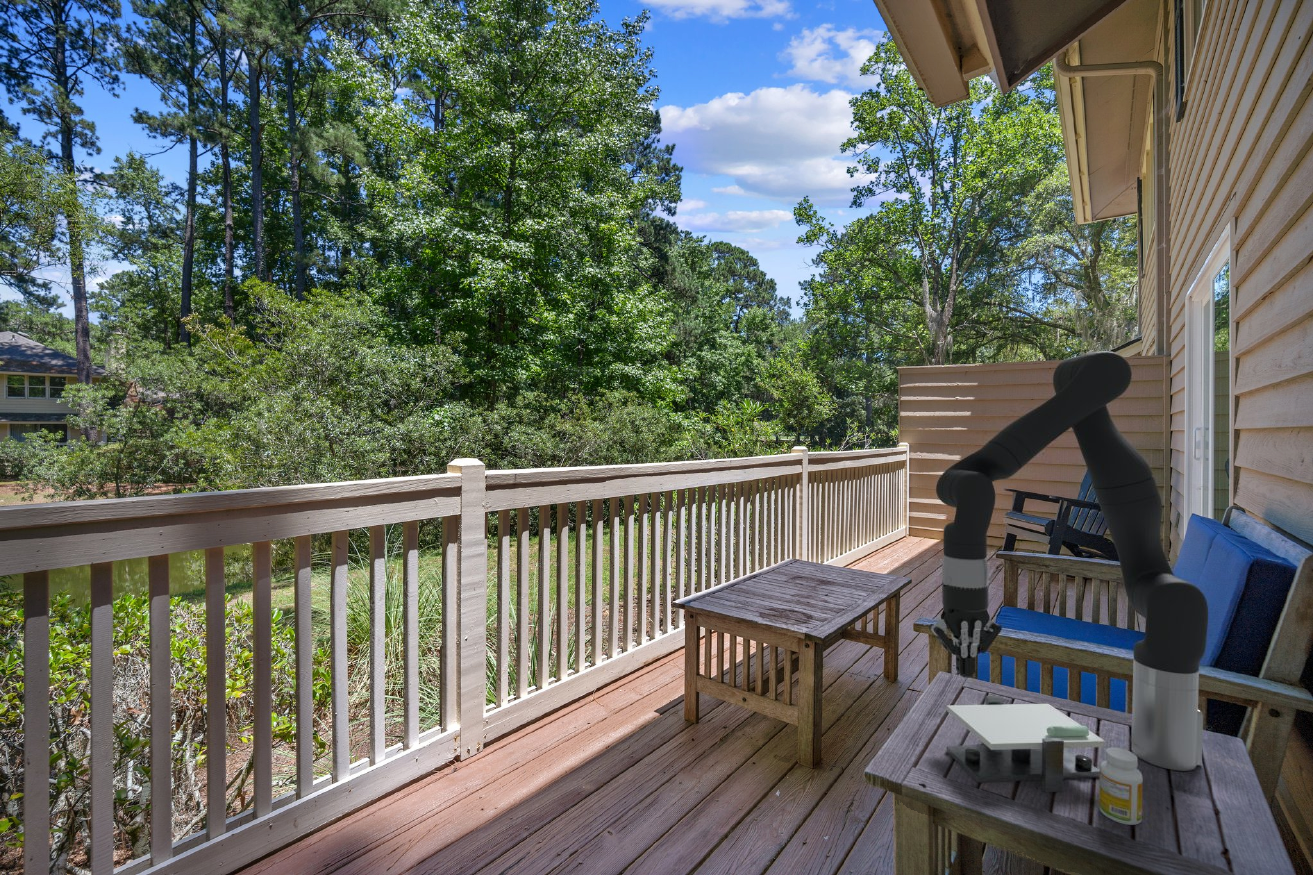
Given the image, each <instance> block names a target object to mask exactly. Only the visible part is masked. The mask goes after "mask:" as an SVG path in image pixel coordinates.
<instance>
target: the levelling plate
mask: <svg viewBox="0 0 1313 875" xmlns="http://www.w3.org/2000/svg"><path fill="white" fill-rule="evenodd" d="M946 712H947V713H949V714H950V715H951V716H952V717H953V718H954V719H955V720H957V721H958V722H959V723H960V725H962V726H963V727H965V728H966V729H967V730H968V731H969V732H970V733H971V734H972V735H974V737H976V738H977V739H978V740H979V741H980V742H982V743H983V745H986V746H988V747H989V748H990V749H991V750H1001V749H1042V738H1061V739H1062V740H1063V741H1064V748H1069V749H1072V748H1073V749H1078V748H1081V749H1082V748H1083V749H1084V748H1106V740H1104V739H1103V738H1102V737H1100V736H1098V735H1097V734H1095V733H1094V732H1092V731H1091V730H1090V729H1089V728H1088V727H1087V726H1086V725H1081V724H1080V723H1078V722H1077V721H1075V719H1074V720H1073V719H1072V718H1071V717H1069V716H1068V715H1066V714H1065V713H1063V712H1062V711H1060V710H1058V709H1056V707H1053V706H1052V705H1050V704H1049V703H1017V704H1016V703H1015V704H1014V703H1013V704H1012V703H1011V704H1009V703H1008V704H1007V703H1006V704H1005V703H1004V705H985V704H966V705H965V704H961V705H960V704H959V705H958V704H957V705H956V704H955V705H946Z"/></svg>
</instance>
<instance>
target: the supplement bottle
mask: <svg viewBox="0 0 1313 875" xmlns="http://www.w3.org/2000/svg"><path fill="white" fill-rule="evenodd" d="M1104 758H1105V760H1103V761H1102V762H1100V765H1099V770H1100V777H1099V790H1098V791H1099V795H1098V800H1099V801H1098V807H1099V811H1100V812H1101V813H1102V814H1103V816H1105V817H1107V818H1108V819H1110V820H1112V821H1114V822H1117V823H1119V824H1122V825H1127V826H1128V825H1129V826H1133V825H1134V826H1135V825H1138V824H1140V823H1141V822H1142V820H1143V785H1144V784H1143V781H1144V780H1143V774H1142V773H1141V771H1140V770H1139V769H1138V765H1139V764H1138V756H1136V755H1135V754H1134V753H1133V752H1132V751H1129V750H1128V749H1124V748H1119V747H1114V746H1113V747H1107V748H1106V749H1105V756H1104Z"/></svg>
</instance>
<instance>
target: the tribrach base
mask: <svg viewBox="0 0 1313 875" xmlns="http://www.w3.org/2000/svg"><path fill="white" fill-rule="evenodd" d="M984 701H985V702H984V703H985V704H984V705H1004V704H1005V702H1004V701H1005V698H1004V697H1003V696H1002V695H985V699H984ZM946 753H948V755H949V756H950V757H952V759H953V760H955V761H956V762H957V764H958V765H959V766H961V767H962V768H963V769H964V771H966V772H967V774H969V776H971V778H972V779H973V780H975V781H976V783H995V782H996V783H998V782H1019V781H1038V780H1039V781H1041V786H1040V787H1041V790H1042V791H1043V792H1044V793H1057V792H1059V793H1060V792H1064V780H1065V779H1066V780H1067V779H1068V780H1069V779H1088V778H1100V769H1099V768H1097V767H1096V766H1094V765H1093V759H1092V758H1090V757H1089V756H1086V755H1083V754H1078V753H1077V752H1075V751H1074V750H1072V748H1064V741H1063V740H1062V739H1061V738H1042V749H1001V750H991V749H990V748H989V747H988V746H986V745H985V744H968V745H965V744H964V745H947V746H946Z"/></svg>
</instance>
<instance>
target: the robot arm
mask: <svg viewBox="0 0 1313 875" xmlns="http://www.w3.org/2000/svg"><path fill="white" fill-rule="evenodd" d="M1132 374H1133V372H1132V369H1131V366H1130V364H1129V362H1128V360H1127V359H1126V358H1125V357H1124V356H1122V355H1121V354H1120V353H1116V352H1114V351H1107V350H1105V351H1104V350H1103V351H1102V350H1101V351H1095V352H1089V353H1086V354H1082V355H1078V356H1074V357H1073V356H1072V357H1070V358H1067V359H1064V360H1063V361H1061V362H1060V363H1059V364H1058V365H1057V366H1056V368H1055V369H1054V373H1053V375H1052V384H1053V389H1054V393H1055V394H1054V395H1053V396H1052V397H1051V398H1050V399H1048V400H1047V401H1045V402H1043V403H1042V404H1040V405H1039V406H1037V407H1036V408H1033V409H1032V410H1030V411H1029V412H1027V413H1025V414H1023V415H1021V417H1018V418H1017V419H1015V420H1014V421H1012V422H1011V423H1010V424H1008V425H1006V427H1004V428H1003V429H1002V430H1001V431H999V432H998V433H997V434H996V435H995V436H993V437H992V438H991V439H990V440H989V441H987V443H985V445H984V446H982V447H981V448H980V449H978V450H977V451H975V452H972V453H971V454H968V455H966V456H965V457H964V458H963V459H961V460H960V461H959V460H958V462H956V463H954V464H953V465H951V466H950V467H948V468H947V469H946V470H945V471H944V472H943V473H942V474H941V475H940V477H939V478H938V480H937V482H936V486H935V492H936V495H937V497H938V500H940V502H941V503H943V504H944V505H946V506H949V507H951V508H955V515H954V520H953V522H949V523H947V524H946V525H945V526H944V529H943V558H942V567H941V570H942V571H941V577H942V579H941V583H942V584H941V585H942V586H941V589H942V591H941V592H942V593H941V595H942V596H941V599H942V600H941V602H942V607H943V608H942V612H941V613H940V620H939V621H938V622H936V623H930V624H929V626H928V628H929V630H930V632H932V634H933V636H935V638H936V639H937V640H938V642H939V643H940V645H942V647H943V648H944V649H945V651H948V652H950V653H951V654H952V655H954V656H955V670H956V672H957V673H958V675H959V676H961V677H962V678H963V679H965V678H973V677H974V674H975V673H976V657H977V655H979V654H985V653H986V652H987V651H988V650H989V648H991V647H990V646H992V644H993V642H994V641H995V640H996V639H997V637H998V635H1000V633H1001V632H1002V630H1003V627H1002V625H1000V624H998V623H996V622H994V621H992V620H991V619H990V618H991V616H990V614H989V612H988V609H989V606H990V605H989V602H990V601H989V600H990V598H989V589H990V588H989V579H990V578H989V566H988V558H987V557H988V551H987V550H988V549H987V548H988V546H987V545H988V544H987V542H988V541H987V540H988V539H987V535H988V532H989V531H988V530H989V527H990V526H991V522H992V521H991V520H992V517H993V514H994V513H993V512H994V510H995V504H996V490H995V486H994V483H993V482H996V481H1000V480H1005V479H1006V480H1007V479H1009V478H1011V477H1012V476H1014V475H1015V474H1016V473H1018V472H1019V471H1020V470H1021V469H1022V468H1023V467H1024V466H1026V465H1027V464H1028V463H1029V462H1030V461H1032V460H1033V459H1034V458H1035V457H1036V456H1037V455H1039V454H1040V452H1042V450H1044V449H1045V448H1046V447H1048V446H1049V445H1050V444H1051V443H1052V442H1054V441H1055V440H1056V439H1058V437H1060V436H1062V435H1063V434H1064V433H1066V432H1067V431H1068V430H1070V429H1072V431H1073V433H1074V436H1075V439H1076V441H1077V444H1078V446H1079V449H1080V452H1081V455H1082V457H1083V461H1084V463H1085V465H1086V468H1087V471H1088V475H1089V477H1090V478H1089V479H1090V481H1091V484H1092V487H1093V492H1094V493H1095V496H1096V500H1097V503H1098V505H1099V508H1100V510H1101V513H1102V514H1103V517H1104V519H1105V520H1104V521H1105V524H1106V525H1107V529H1108V532H1109V534H1110V536H1111V540H1112V542H1113V544H1114V547H1115V549H1116V553H1117V556H1118V560H1119V566H1120V570H1121V574H1122V579H1123V583H1124V588H1125V593H1126V597H1127V600H1128V603H1129V604H1130V606H1131V608H1132V609H1133V610H1134V611H1135V612H1136V613H1137V614H1138V615H1139V616H1141V617H1143V618H1144V619H1146V621H1145V634H1144V638H1143V639H1142V640H1138V641H1137V642H1135V643H1134V646H1133V658H1132V660H1133V662H1132V663H1133V666H1132V667H1133V668H1132V675H1133V677H1132V708H1131V709H1132V713H1131V752H1132V753H1134V754H1135V755H1136V756H1137V758H1138V759H1141V760H1143V761H1144V762H1147V763H1149V764H1151V765H1153V766H1157V767H1160V768H1163V769H1168V770H1173V771H1180V772H1183V771H1185V772H1186V771H1187V772H1188V771H1193V770H1195V769H1196V768H1197V766H1202V764H1203V762H1202V761H1203V731H1204V730H1203V728H1204V727H1203V726H1204V713H1203V712H1202V710H1200V709H1199V684H1200V683H1199V681H1200V679H1199V678H1200V676H1199V675H1200V671H1199V670H1200V663H1201V661H1202V660H1203V657H1204V655H1205V653H1206V646H1207V637H1208V627H1209V626H1208V625H1209V606H1208V601H1207V599H1206V598H1207V597H1205V594H1204V593H1203V592H1202V590H1201V589H1200V588H1199V587H1197V586H1196V585H1195V584H1193V583H1191V582H1188V581H1187V580H1184V579H1182V578H1179V577H1178V576H1176V575H1175V574H1174V572H1173V570H1172V568H1171V566H1170V563H1169V562H1168V558H1167V557H1166V554H1165V551H1164V549H1163V546H1162V542H1161V526H1162V519H1163V518H1162V516H1163V504H1162V503H1163V502H1162V499H1161V494H1160V491H1159V488H1158V485H1157V483H1156V480H1155V476H1154V474H1153V471H1152V469H1151V467H1150V464H1149V463H1148V462H1147V460H1146V459H1145V458H1144V457H1143V455H1142V454H1141V453H1140V452H1139V451H1138V449H1136V448H1135V447H1134V445H1133V444H1132V443H1131V442H1130V441H1129V440H1128V439H1127V438H1126V437H1125V436H1124V435H1123V434H1122V433H1121V431H1120V430H1119V429H1118V428H1117V426H1116V425H1115V423H1114V422H1113V419H1112V417H1111V414H1110V412H1109V409H1108V406H1107V404H1109V403H1111V402H1113V401H1115V400H1116V399H1118V398H1119V397H1120V396H1122V395H1123V394H1124V393H1125V392H1126V391H1127V389H1128V388H1129V386H1130V384H1131V382H1132ZM948 631H949V632H950V635H951V636H950V637H951V639H952V641H951V639H950V638H949V636H948V635H947V634H948Z"/></svg>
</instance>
